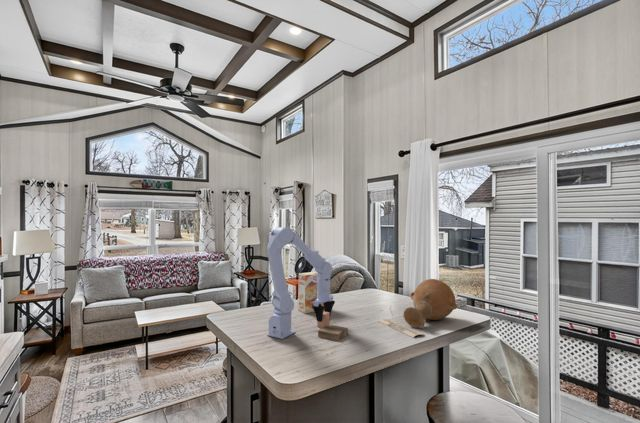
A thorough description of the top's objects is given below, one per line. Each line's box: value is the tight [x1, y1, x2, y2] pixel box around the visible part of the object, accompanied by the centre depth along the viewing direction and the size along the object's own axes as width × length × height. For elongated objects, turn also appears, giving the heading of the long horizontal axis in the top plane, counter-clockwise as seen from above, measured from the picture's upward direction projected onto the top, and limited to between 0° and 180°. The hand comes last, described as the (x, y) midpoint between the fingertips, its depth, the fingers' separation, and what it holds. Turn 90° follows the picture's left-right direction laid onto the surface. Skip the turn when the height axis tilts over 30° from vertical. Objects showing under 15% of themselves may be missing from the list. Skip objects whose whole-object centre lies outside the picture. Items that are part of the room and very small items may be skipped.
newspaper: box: [378, 318, 425, 339], centre depth 143 cm, size 24×7×2 cm, turn 26°
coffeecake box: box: [297, 271, 325, 314], centre depth 173 cm, size 15×7×20 cm, turn 126°
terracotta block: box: [316, 310, 331, 329], centre depth 145 cm, size 4×4×6 cm
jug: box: [403, 278, 458, 329], centre depth 154 cm, size 20×19×30 cm
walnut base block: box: [317, 324, 349, 342], centre depth 134 cm, size 9×9×3 cm
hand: (323, 319), depth 145 cm, fingers open, 7 cm apart
